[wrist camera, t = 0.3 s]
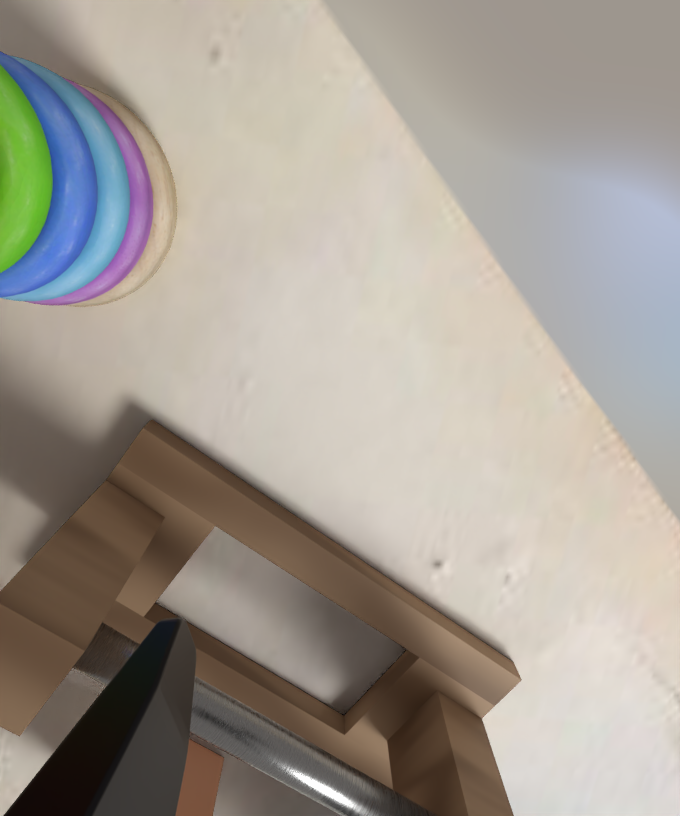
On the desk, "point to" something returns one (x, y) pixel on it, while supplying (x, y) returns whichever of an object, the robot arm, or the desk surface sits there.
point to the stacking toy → (77, 192)
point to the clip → (199, 781)
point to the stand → (239, 676)
